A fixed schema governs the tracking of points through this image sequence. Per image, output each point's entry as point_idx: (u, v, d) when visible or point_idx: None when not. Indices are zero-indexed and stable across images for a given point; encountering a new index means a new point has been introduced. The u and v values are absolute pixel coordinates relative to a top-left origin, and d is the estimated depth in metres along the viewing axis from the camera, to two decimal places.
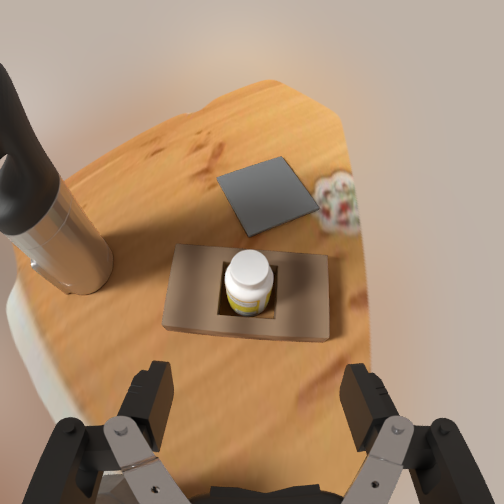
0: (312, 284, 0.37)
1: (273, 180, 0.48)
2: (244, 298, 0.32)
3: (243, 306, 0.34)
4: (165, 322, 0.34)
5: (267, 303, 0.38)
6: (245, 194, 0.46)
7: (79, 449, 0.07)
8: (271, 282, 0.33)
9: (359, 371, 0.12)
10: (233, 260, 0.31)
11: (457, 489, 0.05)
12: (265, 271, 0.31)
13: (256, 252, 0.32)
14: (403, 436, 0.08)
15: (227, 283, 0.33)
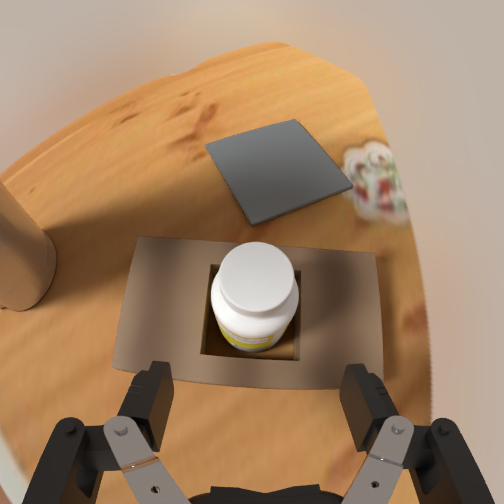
0: (355, 300, 0.22)
1: (286, 148, 0.33)
2: (246, 333, 0.17)
3: (244, 343, 0.19)
4: (117, 364, 0.19)
5: None
6: (246, 165, 0.31)
7: (79, 450, 0.07)
8: (296, 302, 0.18)
9: (359, 371, 0.12)
10: (225, 263, 0.16)
11: (457, 489, 0.05)
12: (287, 284, 0.16)
13: (268, 247, 0.16)
14: (403, 436, 0.08)
15: (215, 305, 0.17)
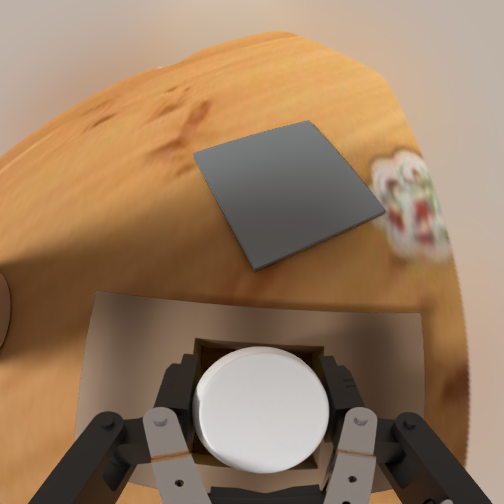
0: (395, 382, 0.15)
1: (299, 158, 0.25)
2: (247, 471, 0.09)
3: None
4: None
5: None
6: (246, 183, 0.24)
7: (112, 445, 0.07)
8: None
9: (328, 363, 0.12)
10: (209, 393, 0.08)
11: (437, 481, 0.06)
12: (318, 428, 0.08)
13: (286, 363, 0.09)
14: (365, 428, 0.08)
15: (198, 431, 0.10)
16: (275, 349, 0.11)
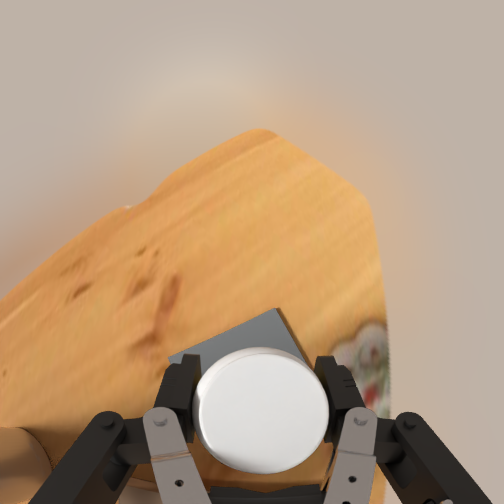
0: None
1: None
2: None
3: None
4: None
5: None
6: None
7: (112, 444, 0.07)
8: None
9: (328, 363, 0.12)
10: (209, 394, 0.08)
11: (437, 481, 0.06)
12: (318, 428, 0.08)
13: (286, 364, 0.09)
14: (365, 427, 0.08)
15: (198, 432, 0.10)
16: (275, 350, 0.11)
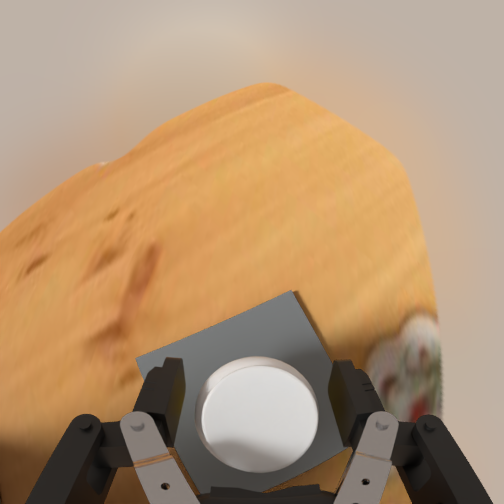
0: None
1: None
2: None
3: None
4: None
5: None
6: None
7: (93, 447, 0.07)
8: None
9: (346, 367, 0.12)
10: (211, 401, 0.09)
11: (449, 485, 0.05)
12: (308, 433, 0.09)
13: (280, 375, 0.10)
14: (387, 432, 0.08)
15: (200, 434, 0.11)
16: (271, 359, 0.12)
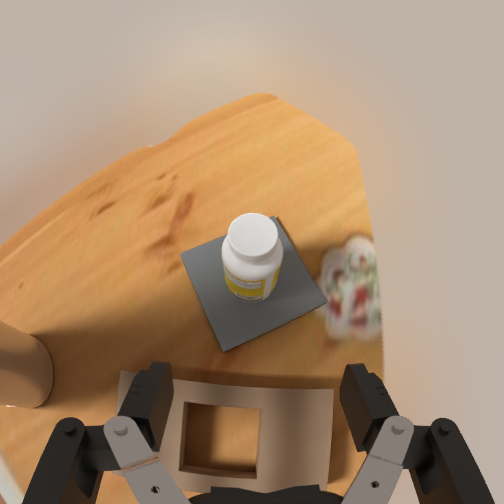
0: (309, 432, 0.23)
1: None
2: (246, 276, 0.25)
3: (244, 288, 0.27)
4: (116, 471, 0.20)
5: (274, 286, 0.31)
6: (219, 283, 0.32)
7: (79, 449, 0.07)
8: (280, 256, 0.26)
9: (359, 371, 0.12)
10: (232, 225, 0.24)
11: (457, 489, 0.05)
12: (273, 239, 0.24)
13: (261, 216, 0.25)
14: (403, 436, 0.08)
15: (224, 256, 0.26)
16: None
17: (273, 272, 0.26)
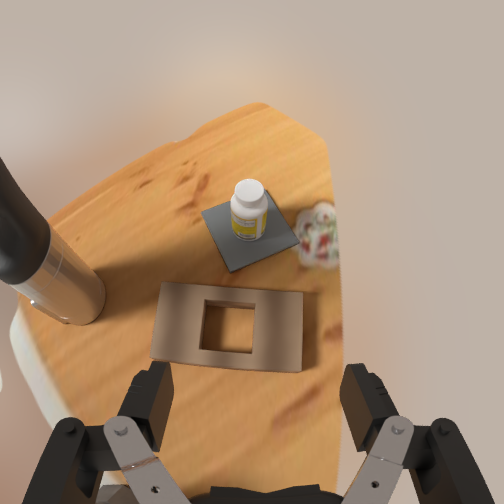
0: (287, 321, 0.40)
1: None
2: (245, 216, 0.42)
3: (244, 226, 0.44)
4: (153, 355, 0.37)
5: (263, 229, 0.47)
6: (228, 229, 0.49)
7: (79, 450, 0.07)
8: (266, 205, 0.42)
9: (359, 371, 0.12)
10: (237, 185, 0.41)
11: (457, 489, 0.05)
12: (261, 193, 0.40)
13: (254, 180, 0.41)
14: (403, 436, 0.08)
15: (232, 205, 0.42)
16: None
17: (261, 214, 0.42)
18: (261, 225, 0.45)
